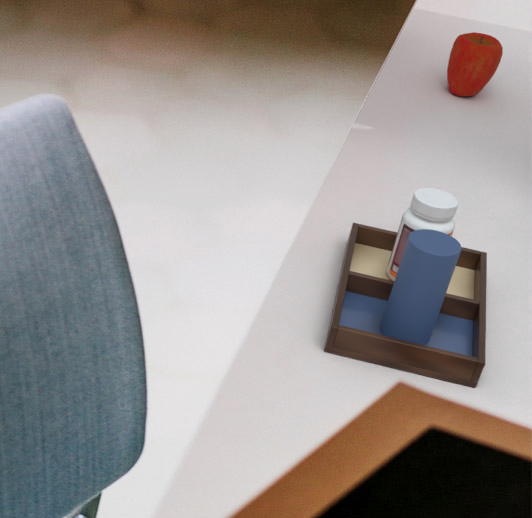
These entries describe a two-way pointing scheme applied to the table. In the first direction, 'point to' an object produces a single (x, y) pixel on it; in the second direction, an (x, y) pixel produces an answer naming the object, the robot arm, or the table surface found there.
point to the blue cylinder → (420, 285)
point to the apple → (472, 63)
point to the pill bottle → (423, 220)
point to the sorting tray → (375, 302)
